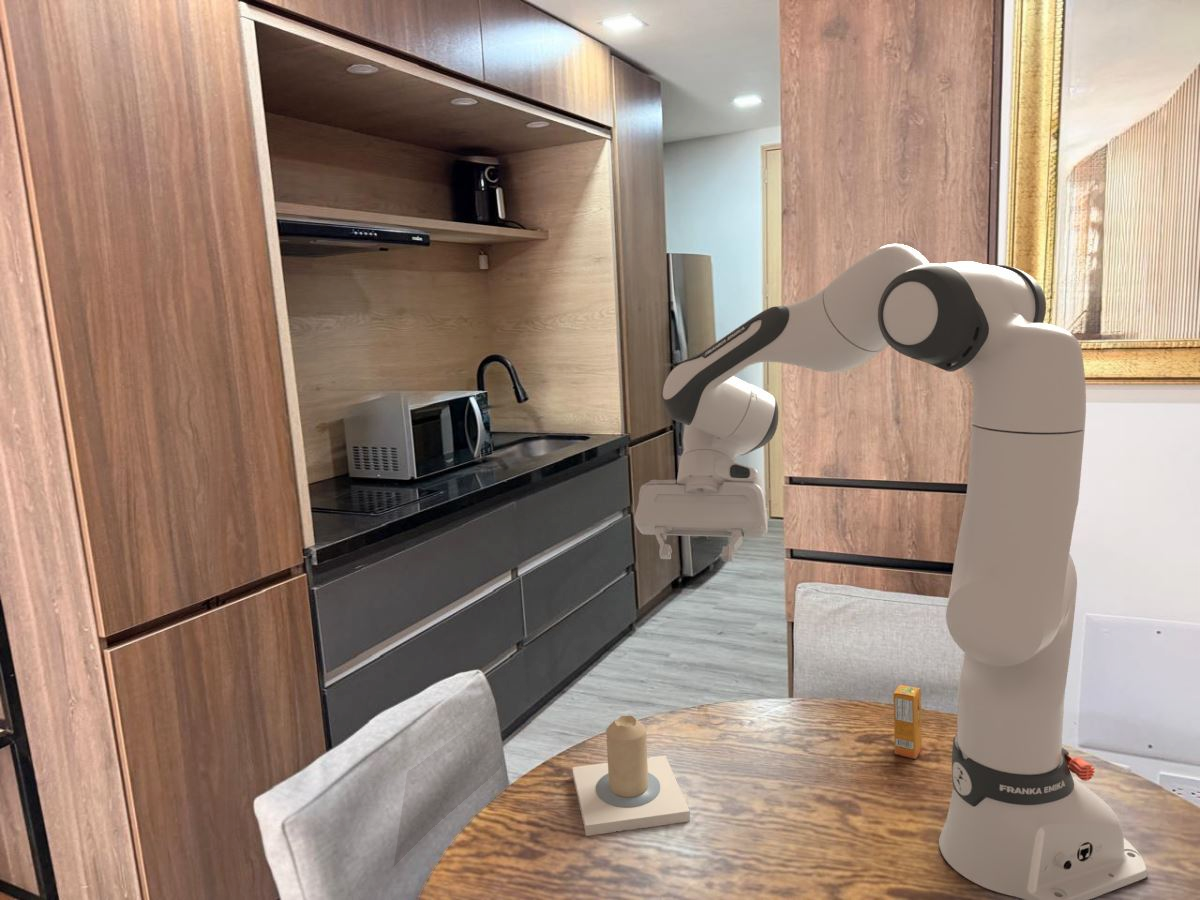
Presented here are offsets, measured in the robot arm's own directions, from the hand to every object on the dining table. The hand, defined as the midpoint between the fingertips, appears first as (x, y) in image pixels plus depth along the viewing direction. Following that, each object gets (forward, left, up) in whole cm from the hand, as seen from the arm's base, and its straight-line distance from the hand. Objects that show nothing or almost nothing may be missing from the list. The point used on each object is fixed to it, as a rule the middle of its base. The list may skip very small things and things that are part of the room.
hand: (695, 558), depth 120 cm
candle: (+13, +10, -29) cm, 33 cm away
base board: (+13, +10, -30) cm, 35 cm away
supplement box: (-30, +8, -31) cm, 43 cm away
